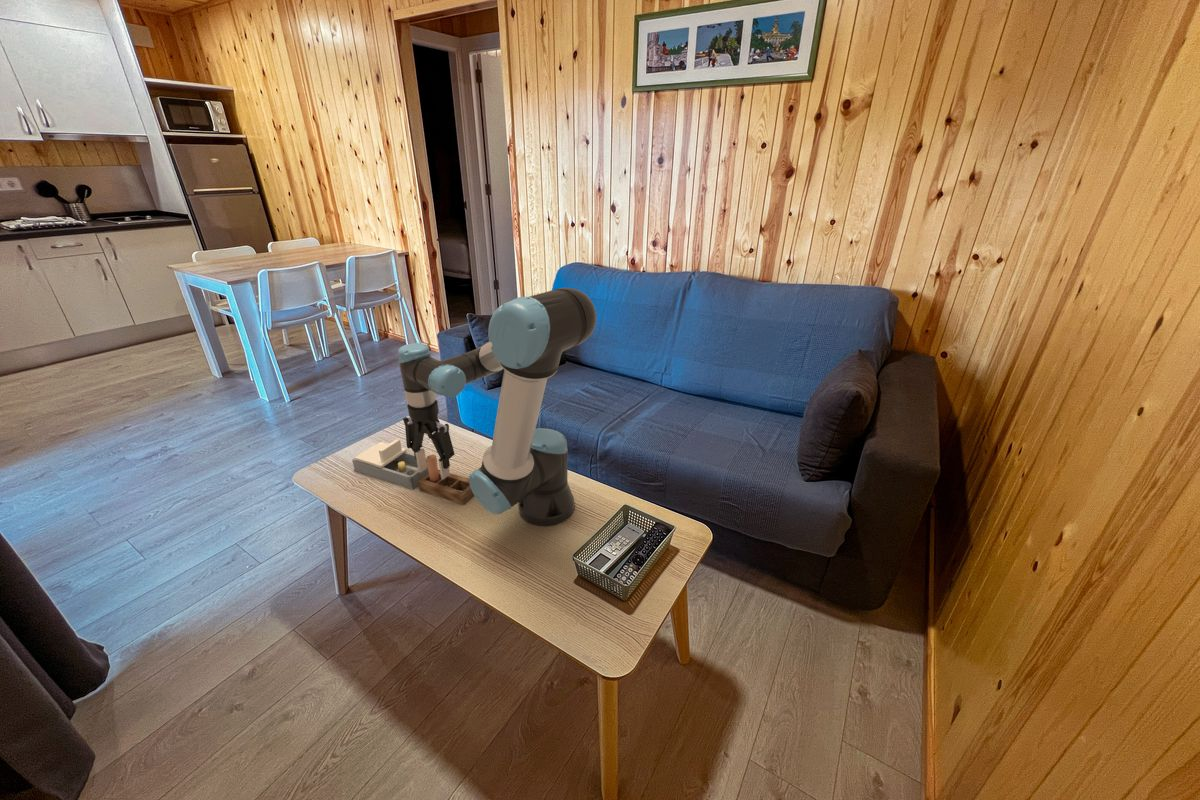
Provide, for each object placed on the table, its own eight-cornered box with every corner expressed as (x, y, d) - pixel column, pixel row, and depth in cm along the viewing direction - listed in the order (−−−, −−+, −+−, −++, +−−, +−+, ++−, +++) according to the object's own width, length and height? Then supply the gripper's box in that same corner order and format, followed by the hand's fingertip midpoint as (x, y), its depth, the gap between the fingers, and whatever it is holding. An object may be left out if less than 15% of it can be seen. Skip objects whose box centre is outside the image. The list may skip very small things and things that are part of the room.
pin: (442, 484, 135) (438, 456, 130) (436, 489, 133) (431, 460, 128) (435, 482, 136) (430, 453, 131) (429, 487, 133) (424, 458, 129)
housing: (436, 471, 141) (434, 460, 139) (412, 489, 132) (410, 478, 131) (380, 454, 148) (378, 443, 147) (354, 470, 140) (351, 459, 138)
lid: (406, 451, 143) (404, 437, 140) (381, 468, 134) (378, 454, 132) (381, 443, 146) (378, 430, 144) (354, 459, 138) (351, 446, 136)
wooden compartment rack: (479, 490, 133) (478, 481, 132) (463, 504, 127) (462, 495, 126) (436, 476, 138) (435, 468, 137) (419, 490, 132) (417, 481, 131)
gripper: (462, 403, 122) (471, 474, 132) (403, 389, 128) (416, 458, 139) (443, 415, 115) (454, 489, 125) (381, 400, 122) (397, 471, 132)
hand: (434, 473), depth 132 cm, fingers open, 7 cm apart
